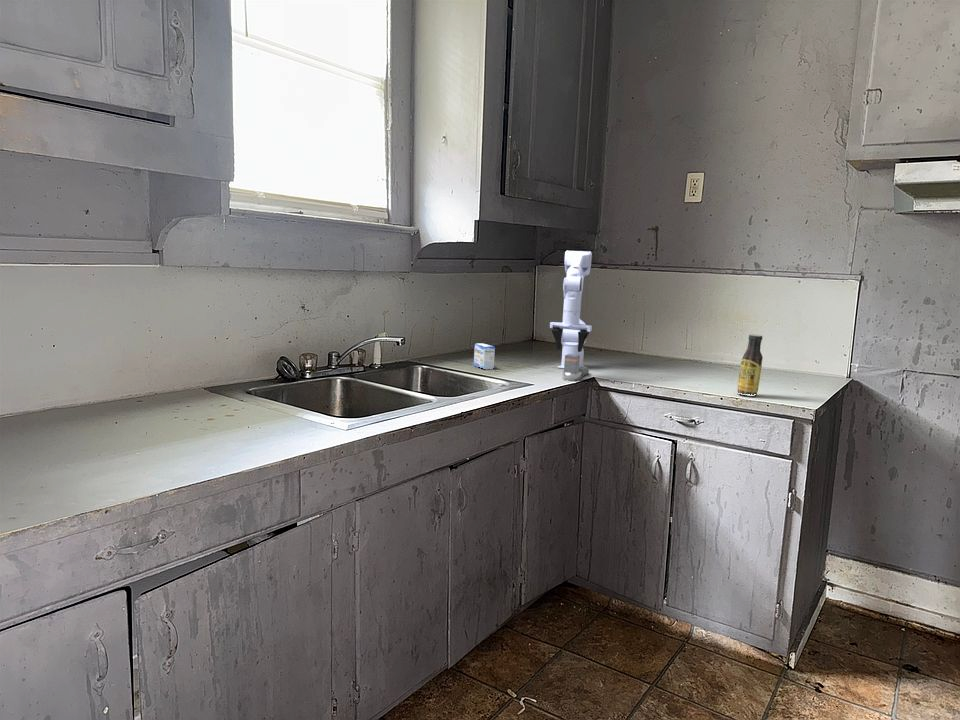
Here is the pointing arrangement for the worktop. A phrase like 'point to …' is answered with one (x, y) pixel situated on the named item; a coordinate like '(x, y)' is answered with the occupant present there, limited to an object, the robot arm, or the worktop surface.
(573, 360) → the socket
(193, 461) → the worktop surface
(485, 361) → the medicine box
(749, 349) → the sauce bottle
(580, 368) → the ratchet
